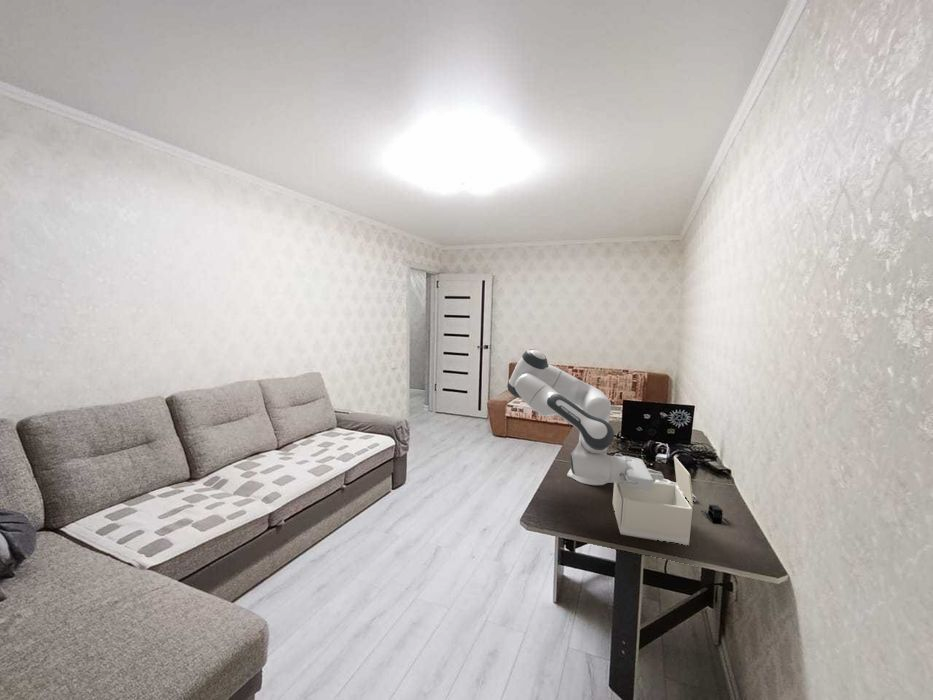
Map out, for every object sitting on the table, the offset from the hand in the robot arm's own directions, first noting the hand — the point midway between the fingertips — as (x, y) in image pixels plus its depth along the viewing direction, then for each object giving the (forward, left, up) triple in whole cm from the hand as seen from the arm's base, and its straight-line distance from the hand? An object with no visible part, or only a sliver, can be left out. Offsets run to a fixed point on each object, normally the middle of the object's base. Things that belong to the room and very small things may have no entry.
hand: (662, 476), depth 131 cm
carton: (0, -3, -18) cm, 18 cm away
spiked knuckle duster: (-31, +12, -18) cm, 38 cm away
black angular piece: (-15, +22, -19) cm, 32 cm away
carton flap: (0, +6, 0) cm, 6 cm away
